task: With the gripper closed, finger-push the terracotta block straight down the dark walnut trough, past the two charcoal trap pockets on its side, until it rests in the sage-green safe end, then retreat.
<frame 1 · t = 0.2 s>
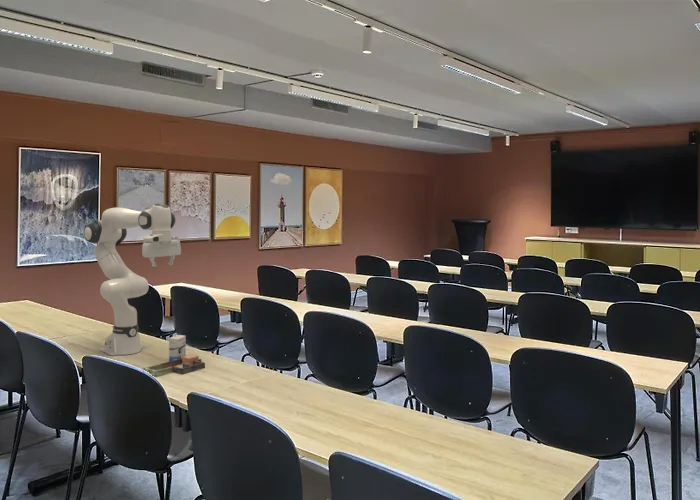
hand: (162, 265, 282), 47 cm above the table, fingers open, 8 cm apart
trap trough: (173, 368, 274), on the table
block: (190, 364, 282), on the table
ink box: (177, 360, 289), on the table
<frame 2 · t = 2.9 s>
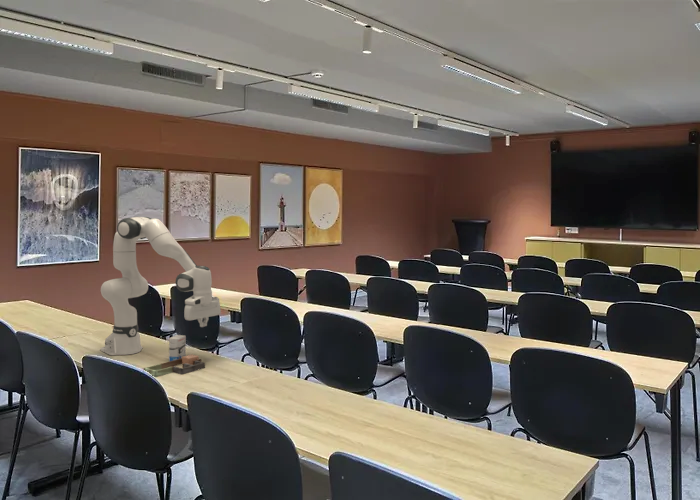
hand: (203, 326, 287), 17 cm above the table, fingers closed
nothing on the table moved.
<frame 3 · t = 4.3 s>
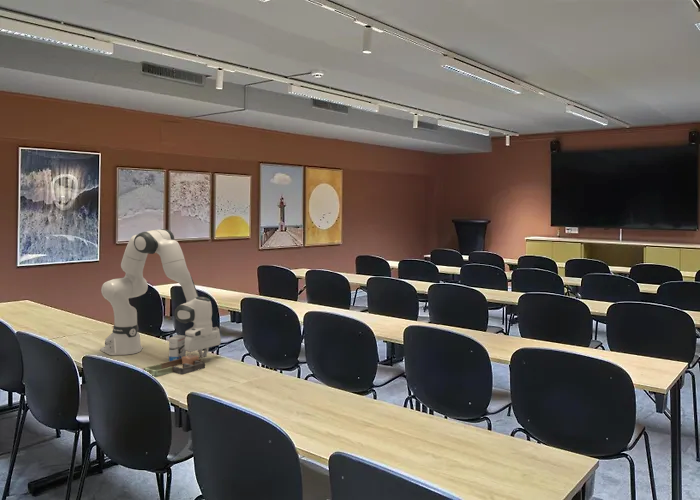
hand: (203, 357, 288), 2 cm above the table, fingers closed
nothing on the table moved.
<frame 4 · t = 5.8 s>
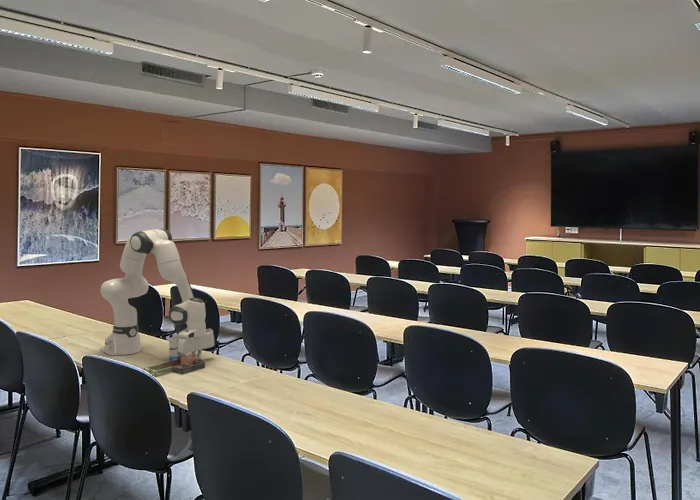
hand: (196, 359, 285), 2 cm above the table, fingers closed
block: (189, 364, 281), on the table, touching gripper
everything else where it was.
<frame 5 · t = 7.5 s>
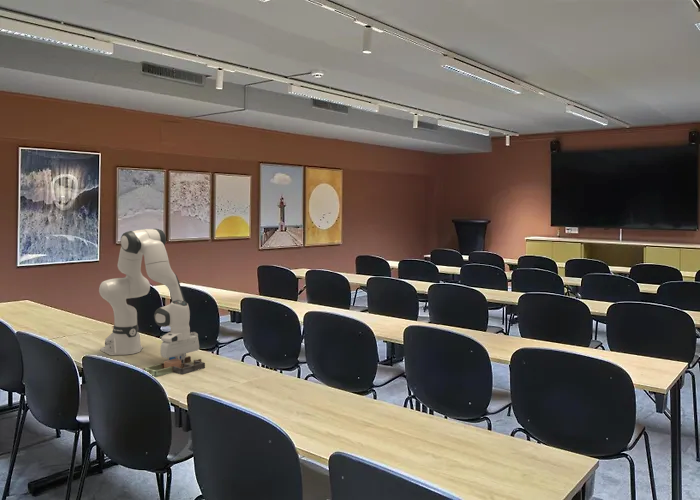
hand: (180, 363, 277), 2 cm above the table, fingers closed
block: (172, 369, 273), on the table, touching gripper
everything else where it was.
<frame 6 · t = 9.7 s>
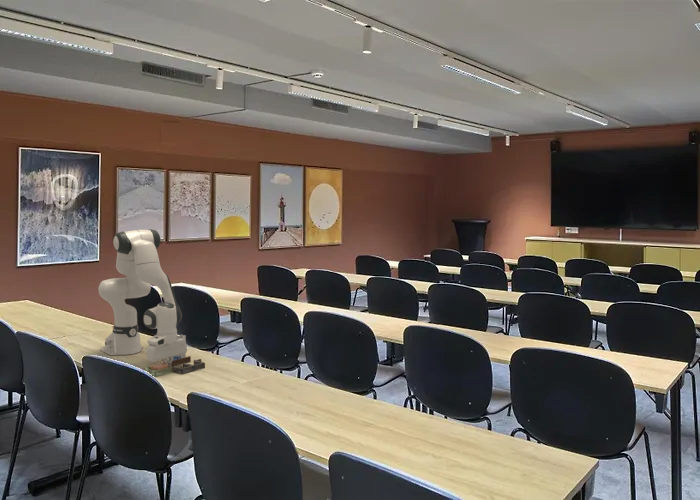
hand: (167, 366, 271), 2 cm above the table, fingers closed
block: (159, 373, 267), on the table
everything else where it was.
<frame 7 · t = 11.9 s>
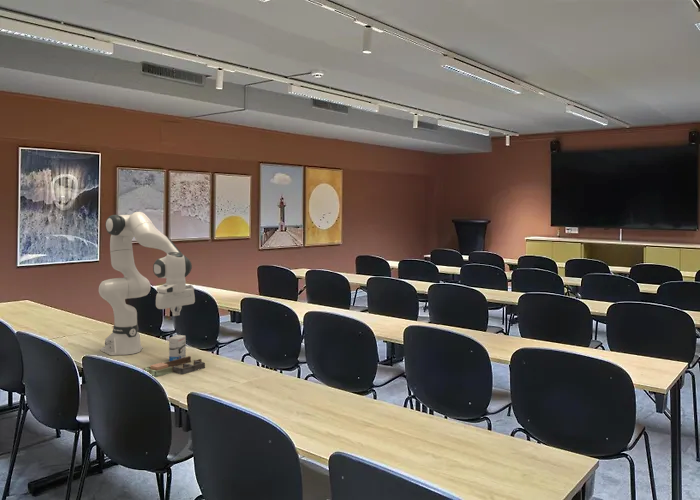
hand: (176, 315, 275), 25 cm above the table, fingers closed
nothing on the table moved.
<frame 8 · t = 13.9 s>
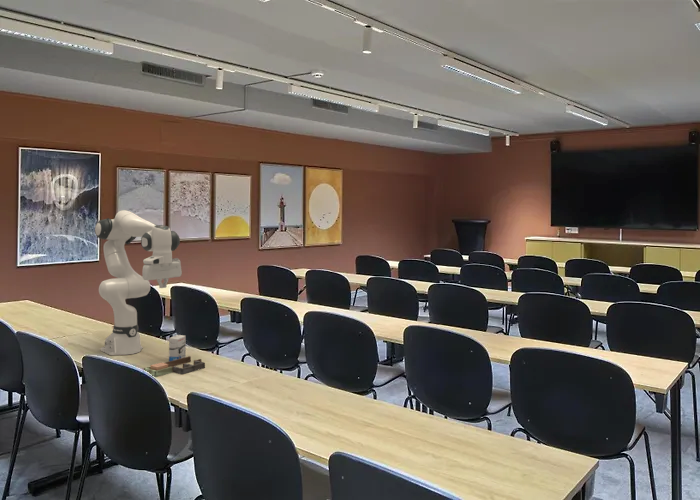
hand: (162, 287, 279), 37 cm above the table, fingers closed
nothing on the table moved.
at the end: block inside the target area (0.6 cm from its centre), on the table; block tilted 0° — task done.
